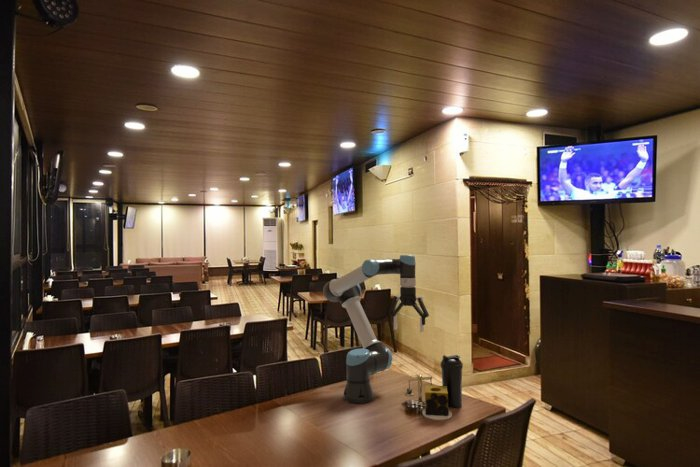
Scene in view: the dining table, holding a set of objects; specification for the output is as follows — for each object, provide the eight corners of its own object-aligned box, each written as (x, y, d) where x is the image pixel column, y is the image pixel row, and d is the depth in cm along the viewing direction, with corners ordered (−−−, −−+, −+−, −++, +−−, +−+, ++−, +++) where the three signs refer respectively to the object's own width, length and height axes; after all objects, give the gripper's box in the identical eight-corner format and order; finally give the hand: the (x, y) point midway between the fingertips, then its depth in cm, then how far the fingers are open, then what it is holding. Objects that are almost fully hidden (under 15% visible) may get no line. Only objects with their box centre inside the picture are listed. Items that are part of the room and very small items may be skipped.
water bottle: (466, 409, 192) (464, 358, 193) (443, 409, 192) (442, 358, 193) (460, 401, 202) (459, 353, 203) (439, 401, 202) (438, 353, 203)
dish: (418, 416, 184) (418, 413, 184) (428, 407, 195) (428, 404, 195) (446, 422, 177) (446, 419, 177) (455, 412, 188) (455, 409, 188)
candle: (448, 408, 190) (447, 385, 190) (449, 416, 180) (448, 393, 181) (425, 406, 192) (425, 384, 192) (425, 415, 182) (424, 392, 182)
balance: (402, 403, 200) (402, 374, 201) (406, 399, 205) (406, 371, 205) (434, 409, 192) (434, 378, 193) (438, 405, 196) (437, 376, 197)
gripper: (381, 286, 206) (382, 329, 205) (429, 288, 193) (430, 334, 192) (388, 285, 212) (388, 327, 211) (435, 286, 200) (435, 331, 199)
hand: (408, 330), depth 202 cm, fingers open, 13 cm apart
